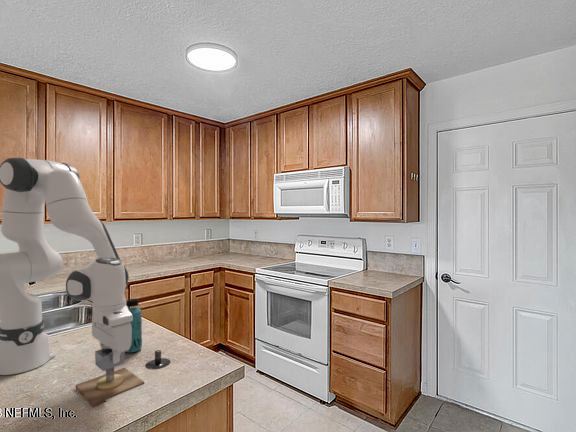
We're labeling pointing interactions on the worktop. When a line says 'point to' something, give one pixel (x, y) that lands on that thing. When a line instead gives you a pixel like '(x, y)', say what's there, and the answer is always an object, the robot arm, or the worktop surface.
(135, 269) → the worktop surface
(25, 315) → the robot arm
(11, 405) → the worktop surface
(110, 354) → the square metal tube
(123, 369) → the brown square board
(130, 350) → the beverage bottle
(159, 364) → the stand
